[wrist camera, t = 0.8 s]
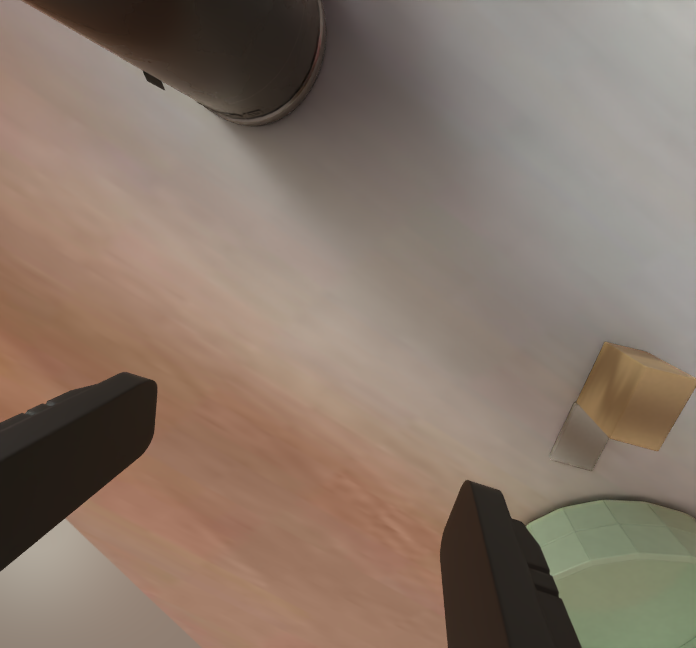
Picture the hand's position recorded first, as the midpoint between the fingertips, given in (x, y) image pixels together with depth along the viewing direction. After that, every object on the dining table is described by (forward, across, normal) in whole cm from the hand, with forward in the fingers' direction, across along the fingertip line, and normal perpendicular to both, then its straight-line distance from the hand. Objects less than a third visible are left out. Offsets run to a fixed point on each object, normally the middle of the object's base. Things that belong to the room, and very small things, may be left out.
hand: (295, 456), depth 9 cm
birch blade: (+16, -16, +2) cm, 23 cm away
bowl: (+17, -23, +16) cm, 33 cm away
